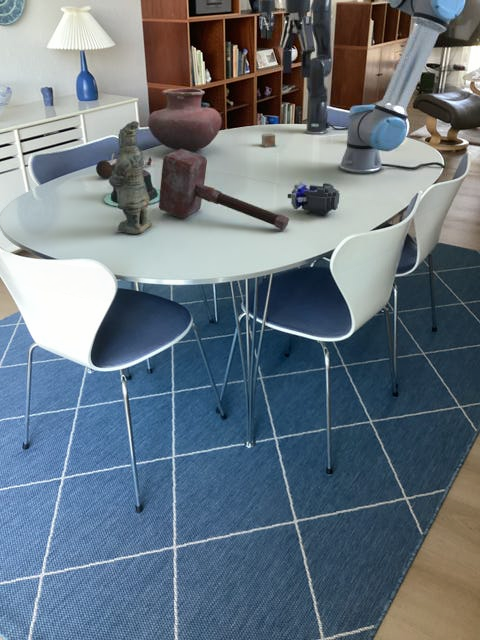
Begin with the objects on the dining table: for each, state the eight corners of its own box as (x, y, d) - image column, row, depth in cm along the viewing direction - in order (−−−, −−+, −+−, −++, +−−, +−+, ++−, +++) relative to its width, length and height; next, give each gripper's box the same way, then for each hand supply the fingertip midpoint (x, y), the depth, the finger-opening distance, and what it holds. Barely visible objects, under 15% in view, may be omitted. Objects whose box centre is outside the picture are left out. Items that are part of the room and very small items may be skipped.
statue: (131, 220, 168) (117, 116, 152) (158, 224, 164) (147, 118, 149) (109, 233, 159) (93, 124, 144) (138, 237, 156) (124, 126, 140)
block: (271, 144, 250) (271, 133, 247) (275, 146, 246) (275, 135, 244) (261, 145, 249) (261, 134, 246) (265, 147, 245) (265, 136, 243)
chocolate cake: (91, 202, 180) (113, 186, 197) (142, 231, 182) (160, 212, 199) (107, 162, 172) (129, 148, 190) (160, 192, 174) (177, 176, 192)
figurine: (158, 154, 218) (111, 160, 199) (158, 173, 221) (112, 181, 202) (133, 150, 225) (86, 155, 206) (134, 169, 228) (87, 176, 209)
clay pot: (228, 143, 251) (226, 84, 239) (213, 161, 226) (210, 95, 213) (163, 142, 256) (158, 84, 243) (142, 159, 231) (135, 95, 218)
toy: (295, 178, 172) (342, 184, 166) (295, 205, 177) (340, 211, 171) (285, 186, 166) (333, 192, 160) (284, 213, 170) (331, 220, 164)
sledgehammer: (299, 190, 156) (179, 147, 167) (285, 200, 148) (161, 154, 160) (286, 244, 166) (174, 200, 177) (272, 256, 158) (156, 209, 170)
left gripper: (254, 0, 267) (254, 37, 275) (264, 0, 255) (264, 39, 263) (268, -1, 269) (268, 37, 277) (279, -1, 257) (279, 38, 265)
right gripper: (269, -2, 174) (269, 71, 185) (304, -3, 154) (302, 80, 164) (291, -3, 176) (290, 70, 187) (329, -4, 156) (325, 78, 167)
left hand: (266, 38), depth 270 cm, fingers open, 8 cm apart
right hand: (295, 75), depth 176 cm, fingers open, 13 cm apart
